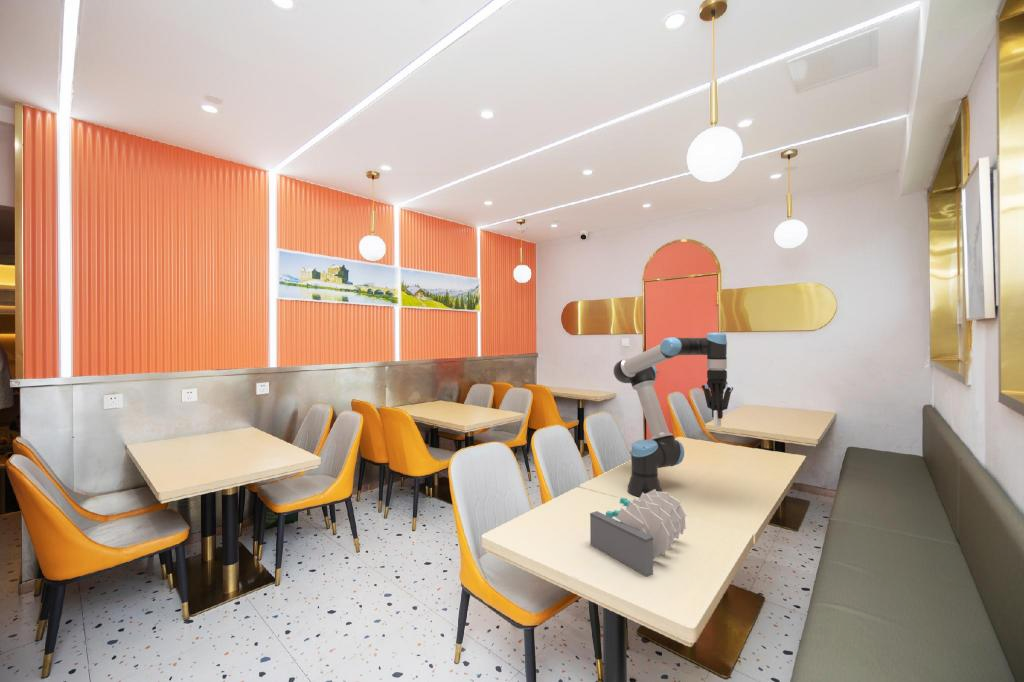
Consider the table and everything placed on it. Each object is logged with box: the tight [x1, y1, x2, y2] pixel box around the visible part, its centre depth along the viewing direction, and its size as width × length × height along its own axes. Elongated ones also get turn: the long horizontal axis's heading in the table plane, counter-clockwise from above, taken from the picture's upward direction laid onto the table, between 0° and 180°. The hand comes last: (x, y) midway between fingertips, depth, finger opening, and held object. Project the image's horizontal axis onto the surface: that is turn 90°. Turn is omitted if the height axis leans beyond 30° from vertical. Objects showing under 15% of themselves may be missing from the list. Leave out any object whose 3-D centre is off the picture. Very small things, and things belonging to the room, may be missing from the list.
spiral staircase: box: [615, 489, 687, 560], centre depth 145 cm, size 18×18×25 cm
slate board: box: [589, 511, 654, 577], centre depth 138 cm, size 24×3×11 cm, turn 32°
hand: (717, 426), depth 180 cm, fingers closed
